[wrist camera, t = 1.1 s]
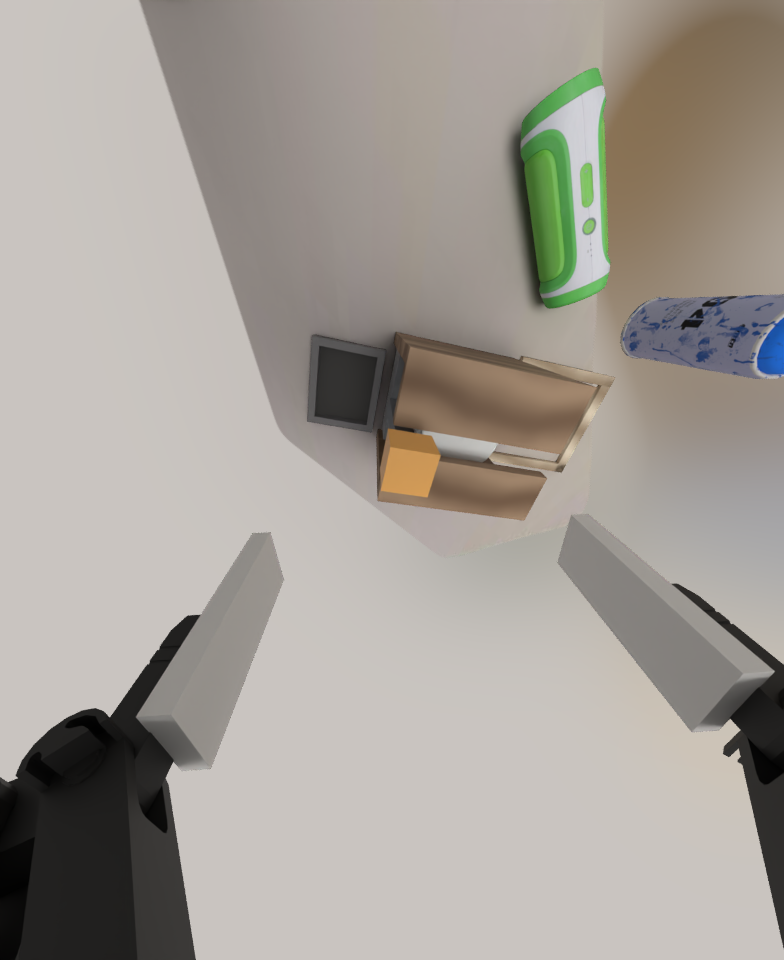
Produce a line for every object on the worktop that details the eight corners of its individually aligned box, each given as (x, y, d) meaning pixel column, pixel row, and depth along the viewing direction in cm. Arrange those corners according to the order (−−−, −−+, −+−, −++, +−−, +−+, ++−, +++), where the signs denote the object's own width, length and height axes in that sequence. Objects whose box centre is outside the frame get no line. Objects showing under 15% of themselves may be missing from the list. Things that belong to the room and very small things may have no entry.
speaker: (585, 285, 39) (627, 280, 32) (531, 310, 40) (561, 311, 33) (572, 100, 30) (627, 42, 24) (504, 139, 31) (539, 95, 25)
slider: (388, 346, 40) (403, 387, 19) (415, 352, 41) (458, 398, 20) (374, 423, 46) (374, 519, 25) (398, 427, 47) (418, 524, 26)
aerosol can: (667, 282, 39) (899, 261, 22) (684, 328, 42) (900, 342, 25) (611, 329, 41) (779, 343, 24) (632, 369, 44) (794, 407, 27)
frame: (521, 356, 43) (523, 356, 42) (611, 376, 45) (615, 377, 44) (481, 457, 51) (482, 459, 50) (559, 470, 53) (561, 472, 53)
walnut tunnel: (395, 331, 40) (410, 347, 24) (514, 358, 43) (596, 387, 27) (376, 437, 48) (377, 500, 32) (477, 454, 51) (524, 520, 35)
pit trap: (314, 334, 40) (311, 335, 38) (385, 349, 41) (386, 351, 39) (309, 417, 46) (307, 421, 44) (371, 427, 47) (371, 432, 45)
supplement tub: (457, 435, 49) (486, 479, 36) (402, 427, 47) (412, 470, 35) (474, 375, 44) (515, 403, 31) (414, 365, 42) (431, 389, 30)
